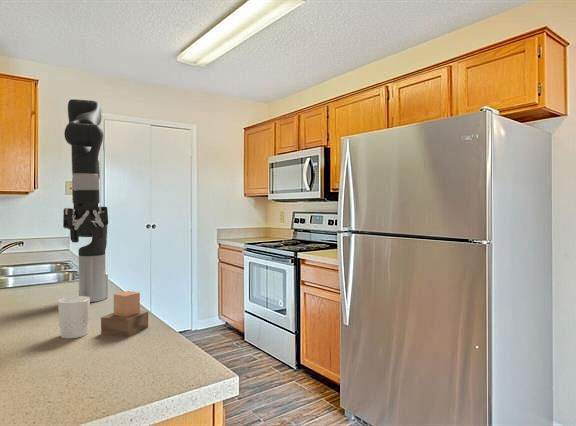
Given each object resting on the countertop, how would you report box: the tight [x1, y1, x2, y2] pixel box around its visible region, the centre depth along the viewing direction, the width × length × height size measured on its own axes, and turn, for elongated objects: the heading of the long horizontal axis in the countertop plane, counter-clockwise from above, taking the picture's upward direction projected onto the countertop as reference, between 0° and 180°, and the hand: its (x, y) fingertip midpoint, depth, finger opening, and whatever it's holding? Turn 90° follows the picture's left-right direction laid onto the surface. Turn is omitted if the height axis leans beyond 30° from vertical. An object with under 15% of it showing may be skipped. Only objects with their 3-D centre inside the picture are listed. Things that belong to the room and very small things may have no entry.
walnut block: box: [100, 310, 149, 338], centre depth 114 cm, size 9×9×5 cm
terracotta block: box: [113, 290, 141, 317], centre depth 114 cm, size 5×5×6 cm
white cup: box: [57, 295, 91, 340], centre depth 110 cm, size 8×8×10 cm
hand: (87, 240), depth 123 cm, fingers open, 8 cm apart
